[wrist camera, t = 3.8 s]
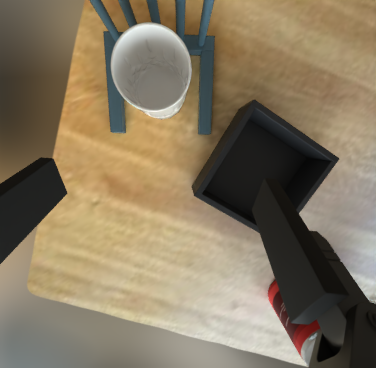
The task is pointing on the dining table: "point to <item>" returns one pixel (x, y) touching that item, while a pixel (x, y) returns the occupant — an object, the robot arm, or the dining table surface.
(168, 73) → the white cup
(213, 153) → the black square tray
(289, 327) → the canned food
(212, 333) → the dining table surface
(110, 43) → the drying rack
